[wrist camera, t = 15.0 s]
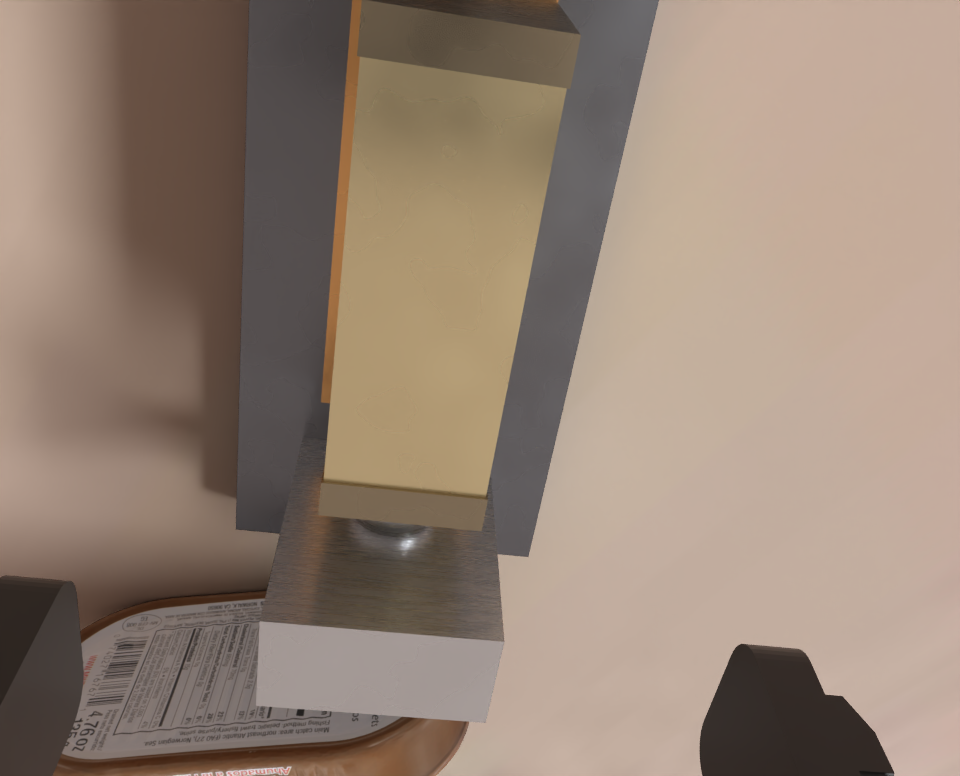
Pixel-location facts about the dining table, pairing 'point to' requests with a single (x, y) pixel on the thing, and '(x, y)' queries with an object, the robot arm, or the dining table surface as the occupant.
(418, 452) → the block
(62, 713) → the robot arm
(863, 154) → the dining table surface
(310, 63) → the stand
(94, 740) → the tin
